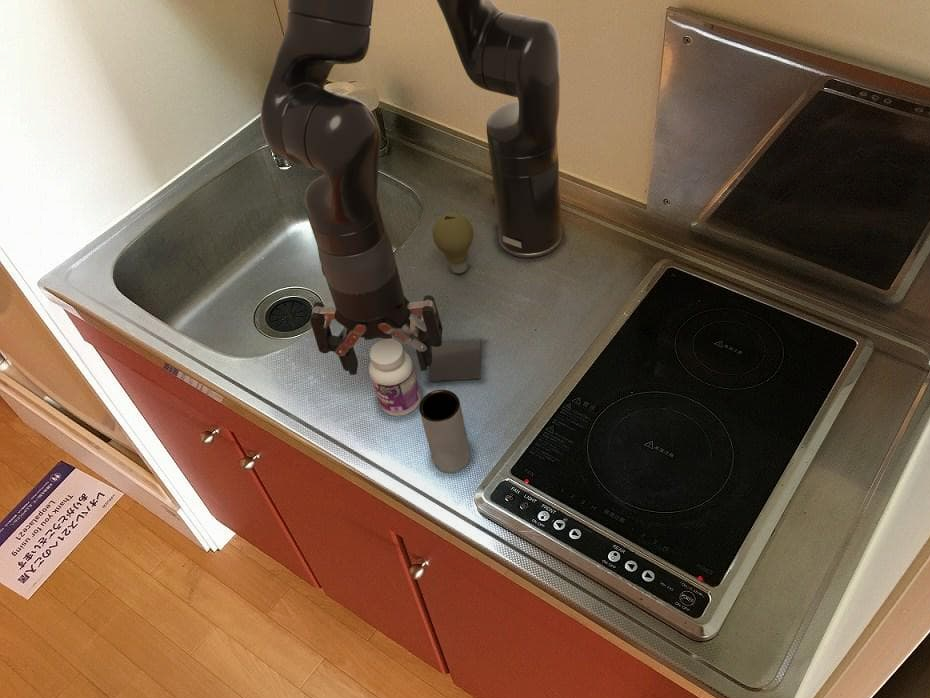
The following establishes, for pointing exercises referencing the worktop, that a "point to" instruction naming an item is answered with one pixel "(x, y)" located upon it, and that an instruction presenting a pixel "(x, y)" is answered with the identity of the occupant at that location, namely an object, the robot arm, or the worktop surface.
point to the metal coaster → (456, 361)
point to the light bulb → (454, 239)
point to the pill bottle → (393, 378)
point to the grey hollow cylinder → (445, 430)
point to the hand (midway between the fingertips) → (389, 367)
